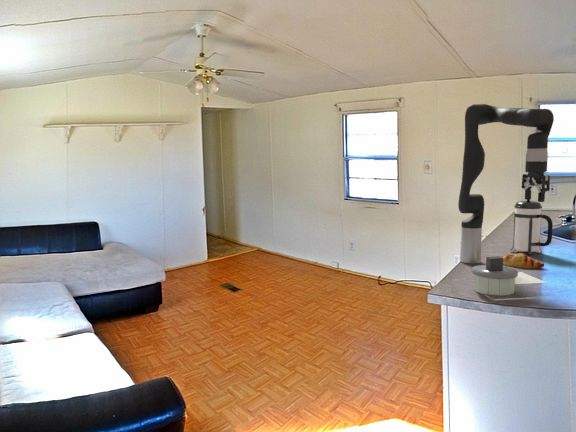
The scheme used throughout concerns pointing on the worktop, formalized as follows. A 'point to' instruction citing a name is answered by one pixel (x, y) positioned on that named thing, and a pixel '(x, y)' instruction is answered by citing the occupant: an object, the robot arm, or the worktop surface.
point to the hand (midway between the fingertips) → (534, 200)
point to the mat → (526, 279)
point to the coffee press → (529, 227)
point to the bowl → (494, 286)
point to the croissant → (521, 261)
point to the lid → (494, 269)
